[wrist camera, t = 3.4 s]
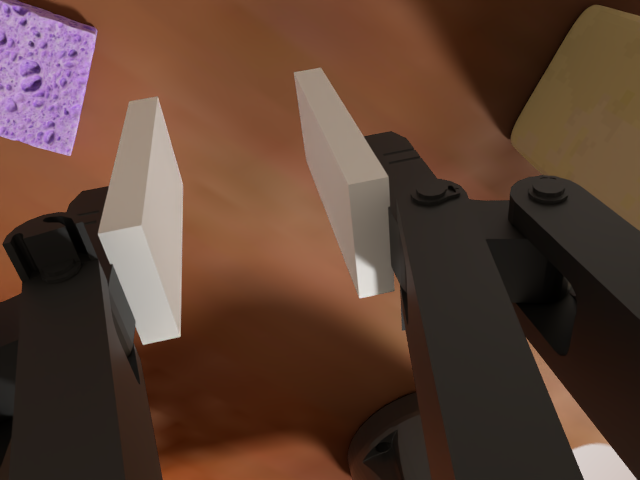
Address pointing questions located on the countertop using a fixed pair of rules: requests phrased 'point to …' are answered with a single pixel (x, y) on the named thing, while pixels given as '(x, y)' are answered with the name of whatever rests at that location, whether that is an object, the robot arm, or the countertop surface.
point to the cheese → (590, 111)
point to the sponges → (42, 75)
